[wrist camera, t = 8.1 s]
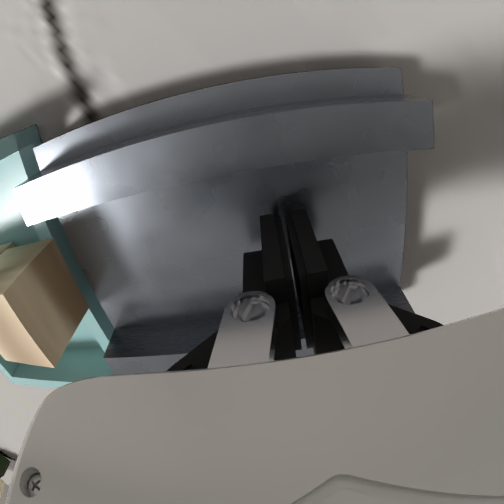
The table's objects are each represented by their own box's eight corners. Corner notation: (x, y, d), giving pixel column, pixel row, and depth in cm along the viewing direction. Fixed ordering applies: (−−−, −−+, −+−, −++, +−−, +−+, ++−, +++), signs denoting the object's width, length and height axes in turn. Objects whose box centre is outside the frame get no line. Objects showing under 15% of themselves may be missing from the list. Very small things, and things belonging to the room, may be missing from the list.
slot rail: (379, 67, 10) (429, 69, 7) (382, 299, 17) (407, 352, 13) (57, 136, 11) (3, 164, 8) (142, 334, 18) (125, 388, 14)
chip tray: (36, 124, 11) (-12, 144, 8) (134, 346, 18) (120, 391, 15) (-60, 185, 12) (-95, 210, 9) (29, 349, 19) (12, 383, 16)
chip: (53, 238, 12) (2, 294, 9) (89, 307, 14) (55, 368, 11) (5, 249, 13) (-40, 297, 9) (39, 309, 15) (5, 360, 11)
